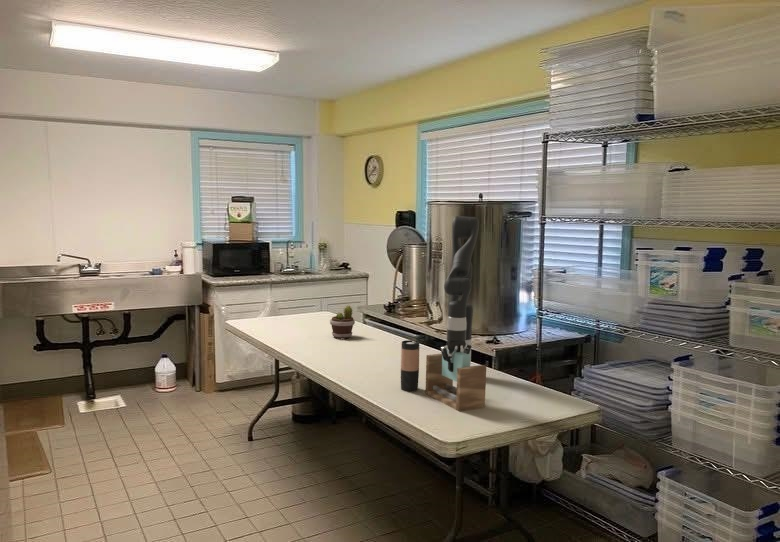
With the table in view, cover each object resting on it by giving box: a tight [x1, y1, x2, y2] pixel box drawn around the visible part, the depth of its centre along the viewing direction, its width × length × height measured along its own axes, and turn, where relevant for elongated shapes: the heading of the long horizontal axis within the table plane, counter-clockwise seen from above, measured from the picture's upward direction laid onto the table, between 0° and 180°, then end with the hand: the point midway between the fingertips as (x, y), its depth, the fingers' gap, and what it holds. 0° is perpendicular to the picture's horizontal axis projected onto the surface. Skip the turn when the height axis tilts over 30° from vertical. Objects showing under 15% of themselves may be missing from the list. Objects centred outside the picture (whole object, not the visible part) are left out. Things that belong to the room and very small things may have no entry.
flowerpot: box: [329, 304, 356, 340], centre depth 345 cm, size 14×15×20 cm
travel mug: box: [400, 339, 420, 393], centre depth 246 cm, size 8×8×20 cm
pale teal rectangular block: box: [442, 349, 471, 383], centre depth 232 cm, size 14×4×11 cm, turn 28°
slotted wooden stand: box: [424, 353, 487, 412], centre depth 233 cm, size 24×12×16 cm, turn 28°
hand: (455, 370), depth 233 cm, fingers closed on pale teal rectangular block, 3 cm apart
